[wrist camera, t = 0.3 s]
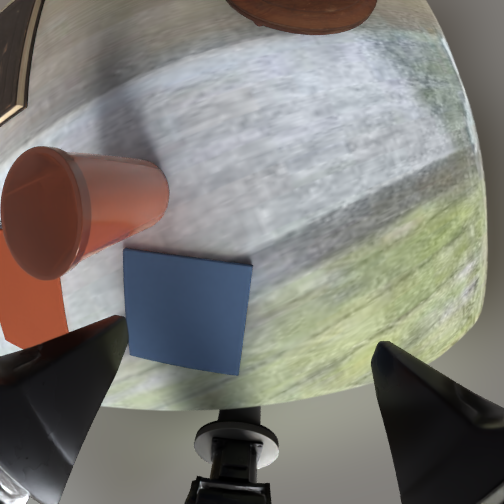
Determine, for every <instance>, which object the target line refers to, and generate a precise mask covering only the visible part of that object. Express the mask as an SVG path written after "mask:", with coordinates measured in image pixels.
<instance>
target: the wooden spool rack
mask: <svg viewBox="0 0 504 504" xmlns="http://www.w3.org/2000/svg"><path fill="white" fill-rule="evenodd" d="M226 1H227V2H228V3H229V4H230V5H231V7H233V8H234V9H235V10H236V11H237V12H239V13H240V14H241V15H243V16H245V17H246V18H248V19H250V20H252V21H254V23H255V24H256V25H257V26H262V25H264V26H267V27H269V28H273V29H276V30H280V31H285V32H290V33H296V34H305V35H327V34H335V33H340V32H344V31H348V30H350V29H353V28H355V27H357V26H359V25H360V24H362V23H363V22H364V21H365V20H366V19H367V18H368V17H369V16H370V14H371V13H372V11H373V10H374V8H375V6H376V3H377V0H226Z"/></svg>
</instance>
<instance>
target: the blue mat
mask: <svg viewBox="0 0 504 504" xmlns="http://www.w3.org/2000/svg"><path fill="white" fill-rule="evenodd" d="M252 267H253V265H248V264H240V263H232V262H225V261H217V260H209V259H202V258H194V257H187V256H180V255H172V254H165V253H158V252H150V251H143V250H136V249H129V248H124V249H123V272H124V296H125V311H126V320H127V325H128V332H129V342H128V343H129V351H130V355H132V356H136V357H140V358H144V359H148V360H152V361H157V362H161V363H166V364H170V365H175V366H180V367H186V368H191V369H197V370H202V371H208V372H215V373H221V374H229V375H236V376H238V375H239V368H240V360H241V352H242V345H243V337H244V329H245V322H246V314H247V306H248V299H249V291H250V283H251V275H252Z"/></svg>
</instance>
